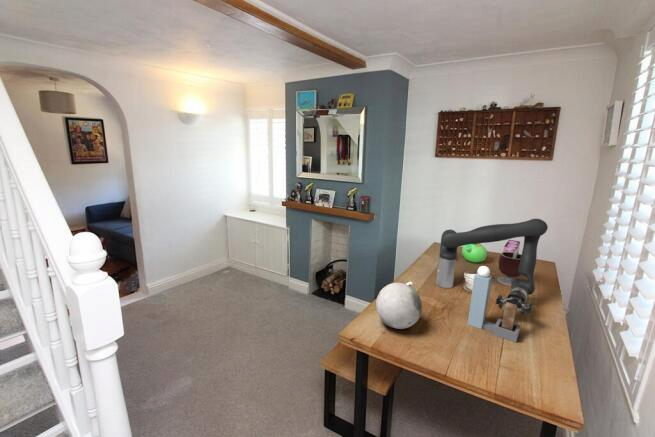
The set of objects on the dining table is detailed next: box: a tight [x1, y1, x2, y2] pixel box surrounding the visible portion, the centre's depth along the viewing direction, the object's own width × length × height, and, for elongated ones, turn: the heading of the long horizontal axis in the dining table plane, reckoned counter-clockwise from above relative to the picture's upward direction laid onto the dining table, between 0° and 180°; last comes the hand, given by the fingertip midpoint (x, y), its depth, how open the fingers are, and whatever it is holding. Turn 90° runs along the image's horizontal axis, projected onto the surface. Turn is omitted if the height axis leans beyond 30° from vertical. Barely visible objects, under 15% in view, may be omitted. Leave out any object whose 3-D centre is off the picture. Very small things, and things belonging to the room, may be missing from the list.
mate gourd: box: [497, 247, 522, 287], centre depth 194 cm, size 16×14×20 cm
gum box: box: [503, 239, 521, 254], centre depth 228 cm, size 24×8×14 cm, turn 143°
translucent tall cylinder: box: [501, 302, 518, 331], centre depth 139 cm, size 4×4×14 cm
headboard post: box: [467, 265, 521, 343], centre depth 140 cm, size 20×9×28 cm, turn 52°
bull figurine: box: [406, 281, 415, 288], centre depth 170 cm, size 4×13×8 cm, turn 137°
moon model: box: [375, 282, 423, 330], centre depth 143 cm, size 20×20×20 cm
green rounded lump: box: [461, 243, 488, 263], centre depth 227 cm, size 18×17×15 cm
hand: (511, 310), depth 142 cm, fingers open, 8 cm apart
